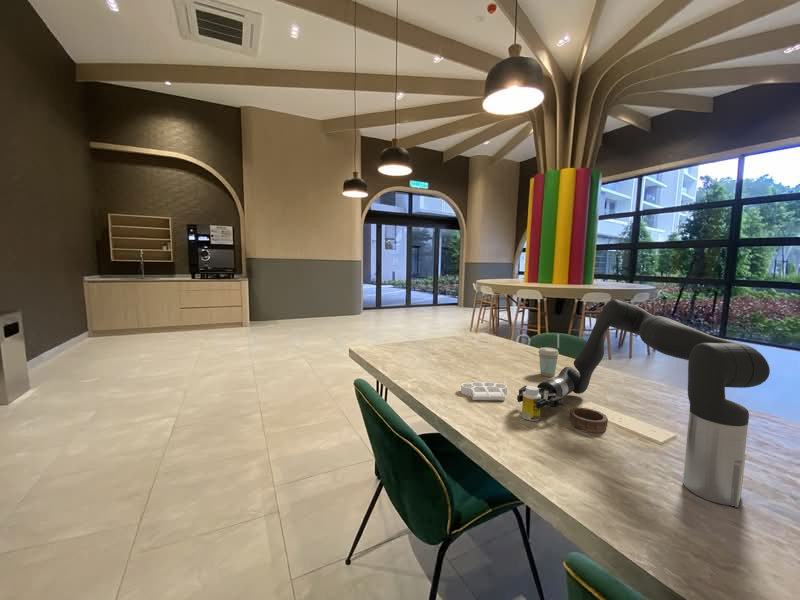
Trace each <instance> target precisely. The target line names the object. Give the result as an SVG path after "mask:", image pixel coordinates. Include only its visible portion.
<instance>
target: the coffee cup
mask: <svg viewBox="0 0 800 600" xmlns="http://www.w3.org/2000/svg"><path fill="white" fill-rule="evenodd" d="M538 356H539V358H538V359H539V370H540V375H541V376H543V375H544V376H543V377H547V376H549V378H551V377H552V376H553V377H555V375H556V369H557V363H558V357H559V356H560V353H559V350H558V349H557V348H553V347H547V346H546V347H539V349H538ZM553 377H552V378H553Z"/></svg>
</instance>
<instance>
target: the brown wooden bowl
mask: <svg viewBox="0 0 800 600" xmlns="http://www.w3.org/2000/svg"><path fill="white" fill-rule="evenodd" d="M608 420H609V418H608V416H607V415H606V414H605V413H603V412H601V411H598V410H595V409H593V408H588V407H574V408H572V409H570V410H569V423H570V425H571V426H572V427H573V428H576V429H577V430H580V431H582V432H586V433H589V434H602V433H605V432H606V431H607V427H608V422H609V421H608Z"/></svg>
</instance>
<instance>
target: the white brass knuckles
mask: <svg viewBox="0 0 800 600" xmlns="http://www.w3.org/2000/svg"><path fill="white" fill-rule="evenodd" d="M460 393H461V394H462V395H464V394H465V395H464V396H469V397H470V398H471V399H472V400H473V401H499V402H500V401H501V402H503V401H506V396H507V395H508V385H506V384H505V383H501V382H497V383H496V382H490V381H473V382H462V383H461V385H460Z"/></svg>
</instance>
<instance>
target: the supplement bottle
mask: <svg viewBox="0 0 800 600" xmlns="http://www.w3.org/2000/svg"><path fill="white" fill-rule="evenodd" d="M525 386H526V391H525V392H524V393H523V401H522V402H521V403H522V406H521V409H522V410H521V415H522V418H523V419H524V420H526V421H528V422H529V421H531V422H537V421H540V419H541V408H539V409H538V408H536V401H538V400H540V399H541V395H540V394H539V388H538V387H537V386H533V385H525Z"/></svg>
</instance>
